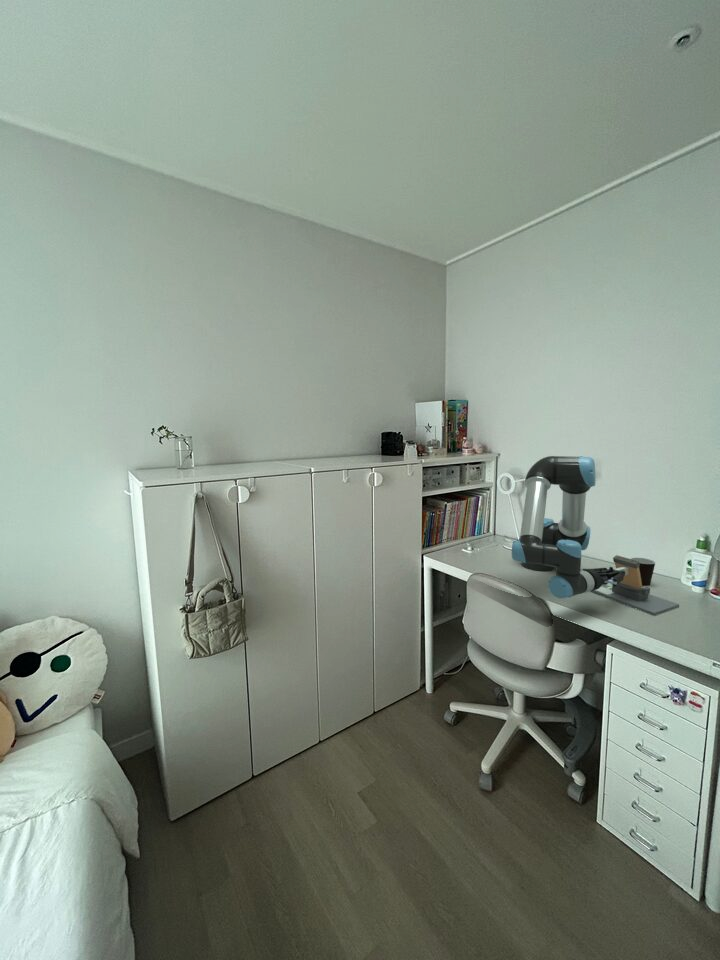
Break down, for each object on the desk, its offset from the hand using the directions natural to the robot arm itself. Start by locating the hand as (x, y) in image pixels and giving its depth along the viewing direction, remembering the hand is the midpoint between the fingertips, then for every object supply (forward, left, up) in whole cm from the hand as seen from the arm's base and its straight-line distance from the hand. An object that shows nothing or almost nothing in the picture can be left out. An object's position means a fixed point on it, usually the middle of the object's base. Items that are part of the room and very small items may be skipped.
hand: (625, 570), depth 149 cm
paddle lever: (0, +4, -7) cm, 8 cm away
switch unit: (0, +4, -12) cm, 13 cm away
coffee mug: (-8, +25, -12) cm, 29 cm away
